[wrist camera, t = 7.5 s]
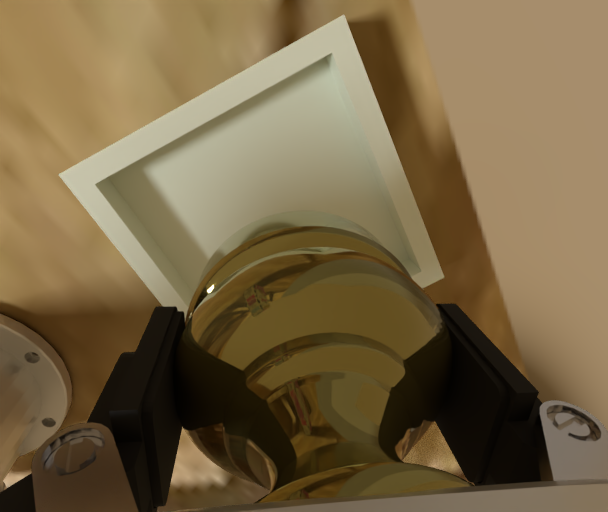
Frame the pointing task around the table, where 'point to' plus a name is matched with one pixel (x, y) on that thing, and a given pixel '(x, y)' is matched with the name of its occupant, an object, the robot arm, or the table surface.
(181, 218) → the tray
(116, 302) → the table surface
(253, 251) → the brass door knob
